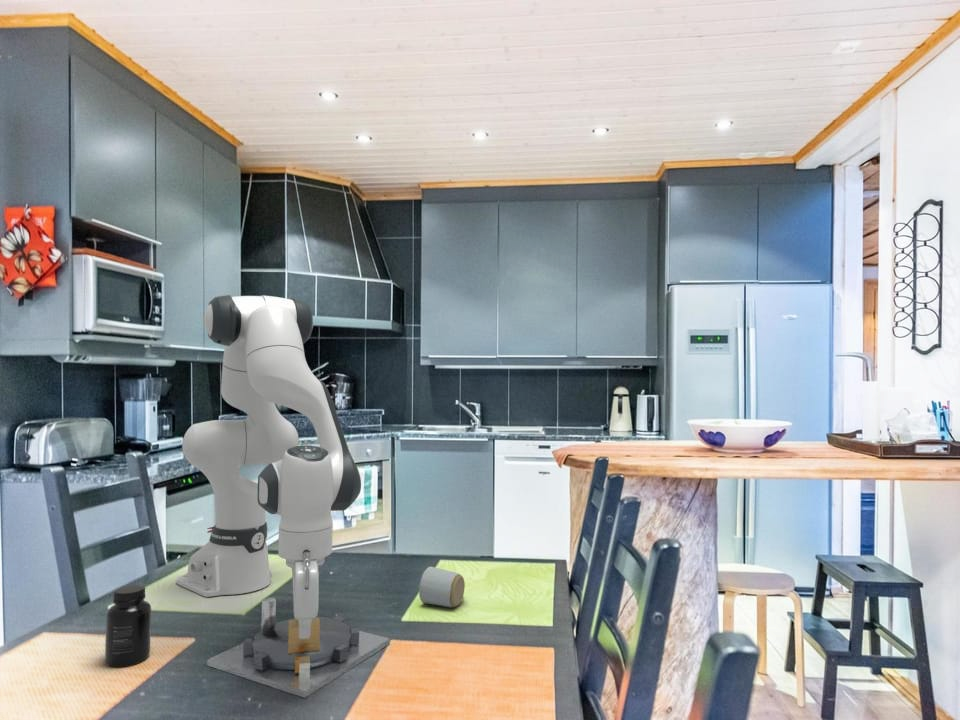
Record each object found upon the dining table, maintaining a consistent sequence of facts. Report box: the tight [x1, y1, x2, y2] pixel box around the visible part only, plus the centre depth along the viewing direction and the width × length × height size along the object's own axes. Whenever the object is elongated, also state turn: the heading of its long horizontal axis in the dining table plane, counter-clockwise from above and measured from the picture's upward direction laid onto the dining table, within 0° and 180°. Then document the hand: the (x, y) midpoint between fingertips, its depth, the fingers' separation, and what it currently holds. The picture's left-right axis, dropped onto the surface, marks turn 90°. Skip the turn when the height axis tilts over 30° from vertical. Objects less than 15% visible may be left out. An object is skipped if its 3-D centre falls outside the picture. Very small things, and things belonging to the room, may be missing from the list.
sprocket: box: [242, 597, 360, 673], centre depth 109 cm, size 20×20×8 cm
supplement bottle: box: [104, 584, 152, 668], centre depth 106 cm, size 7×7×12 cm
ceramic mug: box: [418, 566, 466, 608], centre depth 135 cm, size 11×8×8 cm
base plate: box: [206, 630, 391, 699], centre depth 109 cm, size 22×22×4 cm
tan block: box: [288, 616, 320, 655], centre depth 103 cm, size 5×3×5 cm, turn 108°
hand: (303, 625), depth 104 cm, fingers open, 8 cm apart
